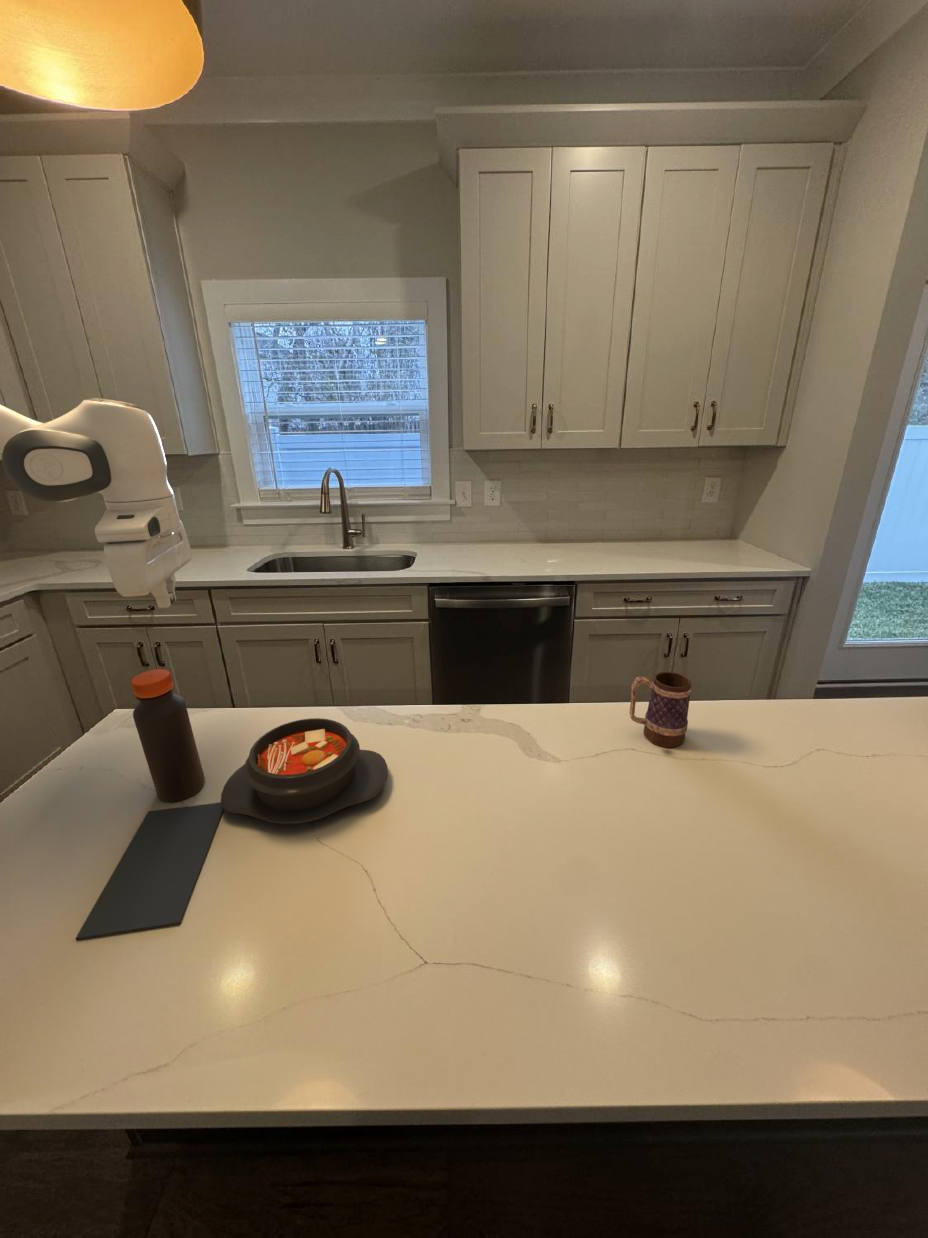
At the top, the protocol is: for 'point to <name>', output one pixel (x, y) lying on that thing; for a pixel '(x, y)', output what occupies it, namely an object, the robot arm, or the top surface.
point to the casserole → (304, 773)
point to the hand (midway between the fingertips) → (167, 604)
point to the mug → (664, 708)
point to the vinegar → (166, 736)
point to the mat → (155, 872)
